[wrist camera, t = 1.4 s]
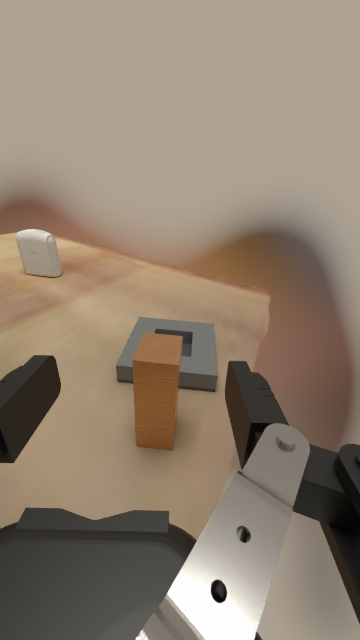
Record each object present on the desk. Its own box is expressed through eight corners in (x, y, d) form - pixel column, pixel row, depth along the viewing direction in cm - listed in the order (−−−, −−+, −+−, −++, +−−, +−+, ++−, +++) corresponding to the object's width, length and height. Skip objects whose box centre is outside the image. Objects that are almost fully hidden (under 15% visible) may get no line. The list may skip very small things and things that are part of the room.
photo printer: (22, 274, 69) (10, 229, 63) (33, 270, 73) (22, 226, 67) (55, 279, 67) (45, 232, 61) (64, 274, 71) (56, 230, 65)
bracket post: (136, 446, 26) (132, 360, 21) (144, 412, 30) (143, 332, 24) (172, 450, 26) (178, 365, 20) (176, 415, 30) (182, 336, 24)
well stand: (117, 381, 35) (116, 365, 33) (139, 330, 47) (139, 316, 45) (214, 391, 34) (217, 375, 33) (211, 337, 46) (213, 323, 45)
